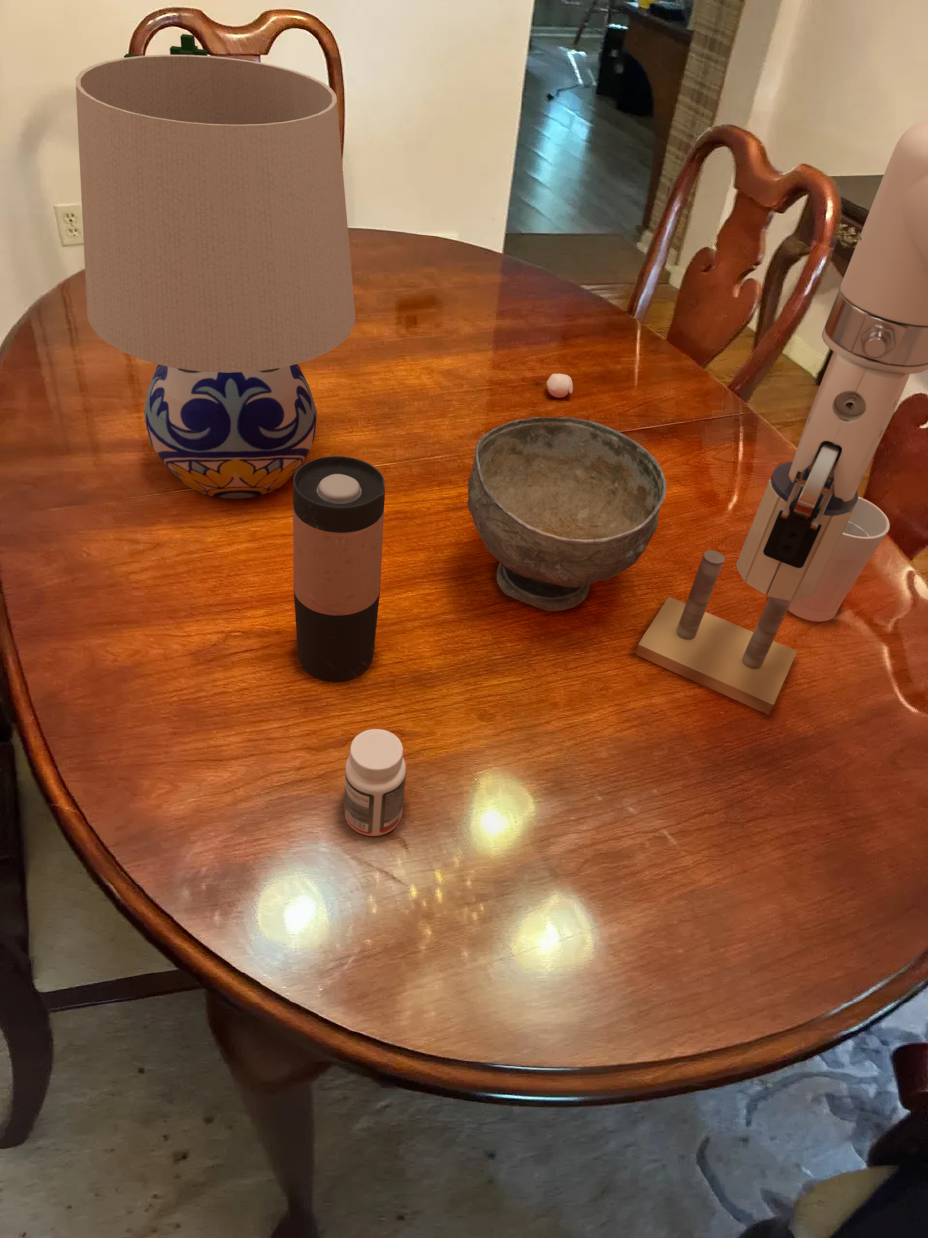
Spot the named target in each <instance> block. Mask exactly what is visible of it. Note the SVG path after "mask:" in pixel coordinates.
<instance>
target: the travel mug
mask: <svg viewBox="0 0 928 1238" xmlns="http://www.w3.org/2000/svg"><path fill="white" fill-rule="evenodd" d="M385 485H386V484H385V477H384V474H382V472H381V471H380V470H379V469H378V468H376V467H375V466H374V465H372V464H371V463H369V462H367V461H365V460H363V459H359V458H355V457H351V456H343V455H342V456H341V455H331V456H330V455H329V456H328V455H327V456H322V457H317V458H315V459H312V460H308V461H307V462H305V463H303V464H301V466H300V467H299V468H298V469H297V471H296V472H295V473H294V474H293V479H292V558H293V560H292V561H293V562H292V563H293V565H292V566H293V567H292V570H293V574H292V575H293V577H292V579H293V580H292V581H293V598H294V599H293V601H294V617H295V634H296V648H297V656H298V657H297V658H298V661H299V664H300V666H301V667H302V669H303V670H304V672H306V673H307V674H308V675H310V676H311V677H313V678H315V679H318V680H321V681H324V682H331V683H340V682H342V683H343V682H346V681H351V680H354V679H356V678H359V677H360V676H361V675H362V674H364V673H365V672H366V671H368V669H369V668H370V666H371V665H372V663H373V662H372V661H373V659H374V652H375V645H376V644H375V643H376V633H377V624H378V615H379V614H378V613H379V605H380V595H381V581H382V562H383V561H382V559H383V540H384V522H385V521H384V519H385V498H386V486H385Z"/></svg>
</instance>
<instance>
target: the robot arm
mask: <svg viewBox="0 0 928 1238" xmlns="http://www.w3.org/2000/svg"><path fill="white" fill-rule="evenodd" d="M871 204H872V205H871V207H870V209H869V212H868V214H867V217H866V219H865V222H864V224H863V227H862V230H861V232H860V235H859V238H858V240H857V242H856V245H855V248H854V250H853V253H852V255H851V257H850V261H849V263H848V266H847V268H846V271H845V274H844V276H843V279H842V282H841V283H840V286H839V289H838V291H837V293H836V295H835V299H834V301H833V304H832V307H831V309H830V311H829V314H828V317H827V319H826V321H825V324H824V327H823V329H822V332H821V338H822V341H823V342H824V344H825V345H826V346H827V347H828V348H829V349H830V350H831V351H832V354H831V356H830V359H829V362H828V364H827V367H826V369H825V372H824V374H823V377H822V378H821V382H820V384H819V387H818V389H817V392H816V395H815V398H814V400H813V402H812V405H811V408H810V411H809V413H808V415H807V418H806V421H805V423H804V426H803V430H802V433H801V436H800V438H799V441H798V444H797V447H796V451H795V454H794V456H793V460H792V462H793V463H792V466H791V469H790V472H789V478H790V480H791V481H792V483H794V482H795V485H794V487H793V489H792V491H791V494H790V496H789V498H788V501H787V503H786V505H785V507H784V510H783V511H782V510H780V512H779V514H778V516H777V519H776V521H775V524H774V526H773V528H772V531H771V533H770V536H769V538H768V540H767V543H766V545H765V548H764V550H763V553H764V555H765V556H767V557H770V558H773V559H775V560H778V561H780V562H783V563H785V564H788V565H791V566H793V567H796V568H802V567H803V566H804V564H805V561H806V559H807V557H808V555H809V553H810V551H811V548H812V546H813V544H814V542H815V540H816V537H817V535H818V533H819V531H820V529H821V527H822V525H820V524H819V523H820V520H821V518H822V516H823V514H824V512H825V509H826V507H827V505H828V503H829V501H830V498H831V497H832V496H833V494H834V493H835V497H838V498H841V499H843V500H842V501H844V502H846V501H849V500H851V499H853V497H854V495H855V493H856V491H857V492H858V489H859V487H860V484H861V483H862V480H863V478H864V476H865V474H866V472H867V470H868V467H869V466H870V464H871V461H872V459H873V457H874V455H875V453H876V451H877V449H878V447H879V445H880V443H881V441H882V438H883V437H884V434H885V432H886V430H887V428H888V426H889V424H890V422H891V419H892V417H893V415H894V413H895V411H896V409H897V406H898V404H899V402H900V399H901V398H902V395H903V393H904V391H905V388H906V385H907V383H908V381H909V378H910V376H911V375H912V374H920V373H923V372H925V371H928V120H924V121H919V122H918V123H915V124H914V125H911V126H910V127H909V128H908V129H906V131H904V133H903V134H902V135H901V136H900V138H899V139H898V141H897V143H896V144H895V147H894V149H893V151H892V153H891V156H890V158H889V161H888V163H887V166H886V168H885V171H884V173H883V175H882V178H881V181H880V184H879V186H878V189H877V192H876V194H875V197H874V199H873V202H872V203H871ZM808 466H809V467H808ZM807 469H808V470H807ZM806 471H807V472H810V475H809V477H808V479H807V480H805V479H803V478H804V475H805V473H806ZM833 478H834V480H833ZM827 479H830V480H833V482H832V484H831V486H830V488H828V487H825V486H824V485H825V482H826V480H827ZM795 480H796V481H795ZM801 488H803V490H802V492H801V494H800V497H799V499H797V496H798V494H799V492H800V490H801ZM820 494H821V495H823V499H822V501H821V503H820V505H819V508H818V506H817V505H816V503H817V500H818V498H819V496H820Z"/></svg>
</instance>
